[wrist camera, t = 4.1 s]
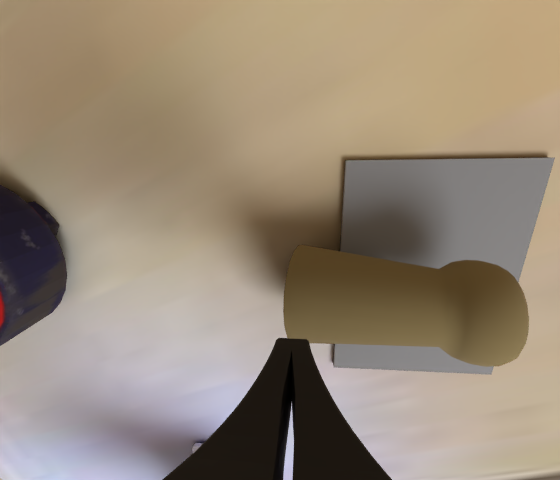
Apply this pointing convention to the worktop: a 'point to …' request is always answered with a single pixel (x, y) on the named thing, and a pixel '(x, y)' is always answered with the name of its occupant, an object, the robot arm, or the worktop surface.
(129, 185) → the worktop surface
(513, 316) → the cork
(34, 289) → the grenade
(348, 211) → the mat
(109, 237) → the worktop surface
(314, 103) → the worktop surface
